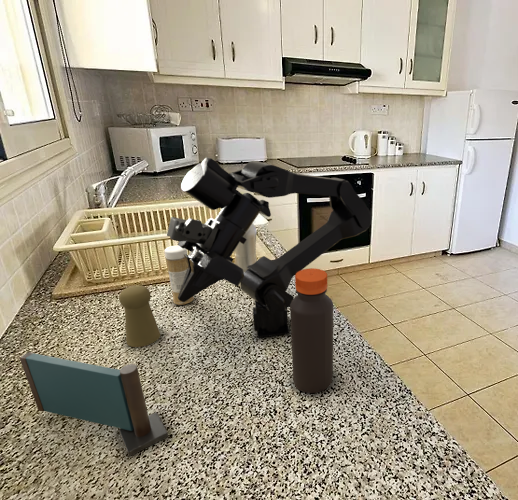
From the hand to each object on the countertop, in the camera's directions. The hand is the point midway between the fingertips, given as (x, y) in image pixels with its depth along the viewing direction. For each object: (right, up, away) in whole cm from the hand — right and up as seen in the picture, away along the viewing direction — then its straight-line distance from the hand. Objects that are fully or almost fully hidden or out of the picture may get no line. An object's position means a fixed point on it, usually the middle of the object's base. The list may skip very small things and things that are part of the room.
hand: (180, 300), depth 63 cm
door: (-9, -16, -9) cm, 20 cm away
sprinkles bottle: (-11, -4, +25) cm, 28 cm away
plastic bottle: (+2, -1, +34) cm, 34 cm away
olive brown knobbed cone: (-12, -9, +11) cm, 19 cm away
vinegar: (+22, -14, +1) cm, 26 cm away
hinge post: (0, -18, -10) cm, 21 cm away
